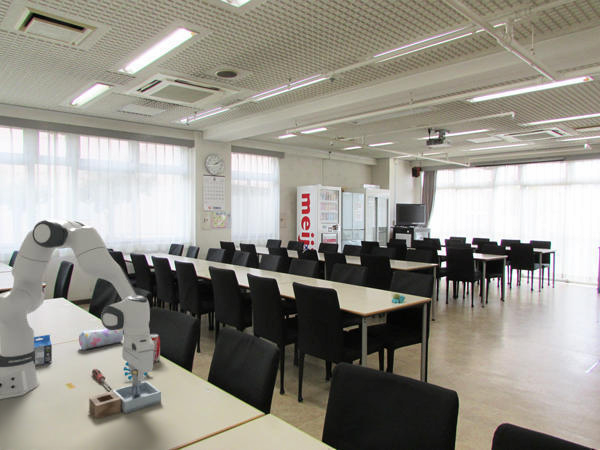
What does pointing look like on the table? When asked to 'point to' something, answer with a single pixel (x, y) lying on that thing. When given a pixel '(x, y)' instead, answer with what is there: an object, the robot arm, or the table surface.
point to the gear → (129, 371)
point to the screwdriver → (99, 377)
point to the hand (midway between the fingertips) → (136, 377)
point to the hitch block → (104, 405)
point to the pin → (136, 385)
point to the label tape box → (43, 350)
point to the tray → (148, 397)
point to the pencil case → (99, 338)
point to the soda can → (156, 347)
